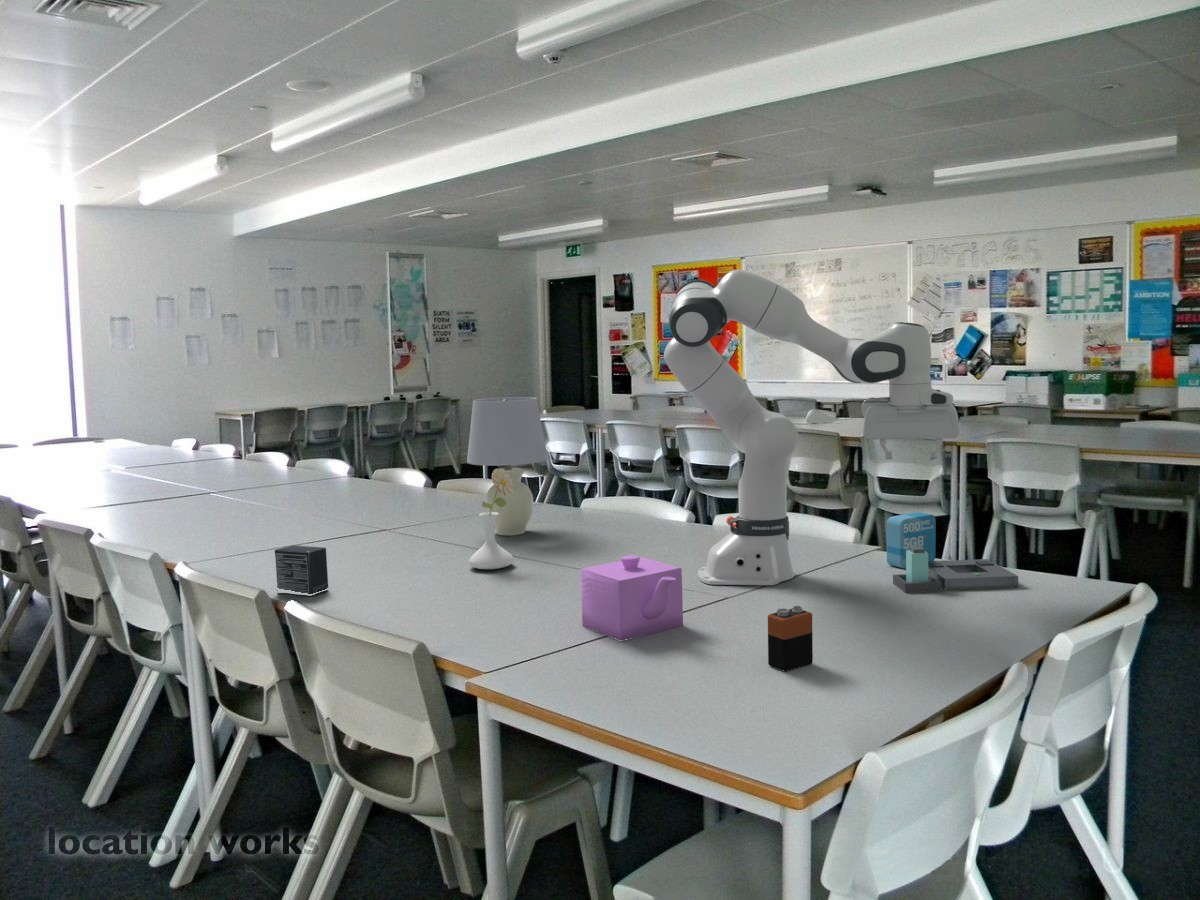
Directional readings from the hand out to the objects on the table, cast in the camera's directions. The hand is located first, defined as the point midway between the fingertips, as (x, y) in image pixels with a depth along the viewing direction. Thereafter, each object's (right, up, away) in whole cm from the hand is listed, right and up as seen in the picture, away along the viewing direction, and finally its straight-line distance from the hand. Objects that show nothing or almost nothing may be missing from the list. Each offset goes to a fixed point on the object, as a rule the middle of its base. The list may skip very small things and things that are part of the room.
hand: (911, 459), depth 209 cm
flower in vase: (-96, -28, +31) cm, 104 cm away
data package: (+7, -26, +20) cm, 33 cm away
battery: (-36, -35, -47) cm, 69 cm away
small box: (-138, -32, +13) cm, 142 cm away
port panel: (+14, -27, +4) cm, 31 cm away
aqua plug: (+1, -28, -1) cm, 28 cm away
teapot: (-62, -33, -23) cm, 74 cm away
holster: (+1, -28, -1) cm, 28 cm away
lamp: (-95, -23, +74) cm, 123 cm away
